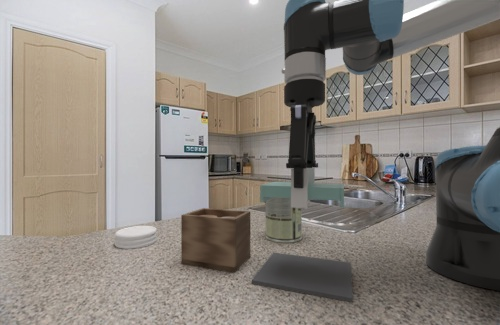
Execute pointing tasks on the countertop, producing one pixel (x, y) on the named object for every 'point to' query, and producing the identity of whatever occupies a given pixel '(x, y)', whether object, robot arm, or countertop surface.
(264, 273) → the mat
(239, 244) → the box
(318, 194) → the lid
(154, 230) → the coaster
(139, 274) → the countertop surface
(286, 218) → the coffee can
